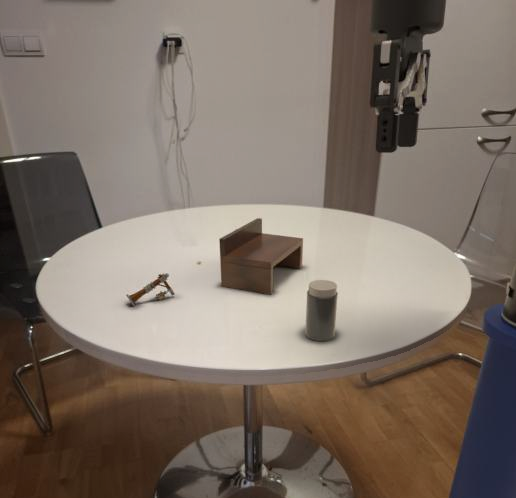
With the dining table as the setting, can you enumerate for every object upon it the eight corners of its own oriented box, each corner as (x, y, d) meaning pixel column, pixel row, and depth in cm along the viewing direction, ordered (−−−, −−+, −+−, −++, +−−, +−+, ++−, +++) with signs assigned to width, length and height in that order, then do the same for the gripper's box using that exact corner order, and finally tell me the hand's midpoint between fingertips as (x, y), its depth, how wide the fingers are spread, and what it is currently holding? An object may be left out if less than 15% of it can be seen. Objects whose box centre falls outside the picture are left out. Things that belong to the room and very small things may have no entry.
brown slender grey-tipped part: (180, 292, 86) (167, 271, 83) (141, 317, 85) (127, 297, 82) (176, 289, 88) (164, 268, 85) (138, 313, 86) (125, 293, 84)
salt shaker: (338, 331, 75) (342, 281, 71) (329, 343, 71) (333, 292, 67) (310, 325, 76) (313, 277, 73) (301, 337, 73) (303, 287, 69)
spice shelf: (302, 267, 100) (303, 223, 96) (270, 294, 88) (270, 245, 83) (257, 260, 104) (257, 218, 100) (221, 286, 91) (219, 238, 87)
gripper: (432, -43, 43) (414, 155, 50) (460, -14, 54) (442, 144, 61) (350, -28, 47) (344, 154, 53) (393, -4, 58) (383, 145, 65)
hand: (396, 149), depth 57 cm, fingers open, 8 cm apart
